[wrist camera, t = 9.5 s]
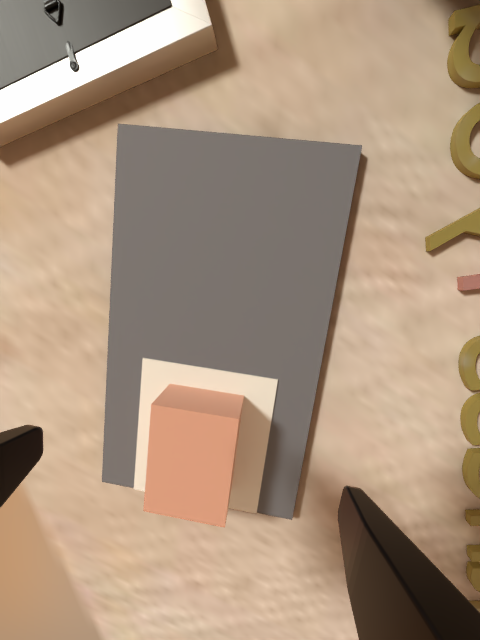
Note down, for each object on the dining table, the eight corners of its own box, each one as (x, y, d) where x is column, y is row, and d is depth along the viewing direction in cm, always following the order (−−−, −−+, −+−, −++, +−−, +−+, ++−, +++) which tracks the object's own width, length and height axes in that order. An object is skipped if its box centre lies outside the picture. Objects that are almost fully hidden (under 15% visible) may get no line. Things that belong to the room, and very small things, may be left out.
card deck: (231, 489, 19) (224, 527, 16) (162, 475, 20) (143, 511, 17) (243, 395, 18) (238, 419, 15) (169, 383, 19) (151, 404, 16)
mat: (358, 150, 16) (362, 144, 15) (291, 512, 20) (292, 521, 19) (123, 128, 17) (117, 122, 16) (106, 475, 21) (101, 482, 20)
